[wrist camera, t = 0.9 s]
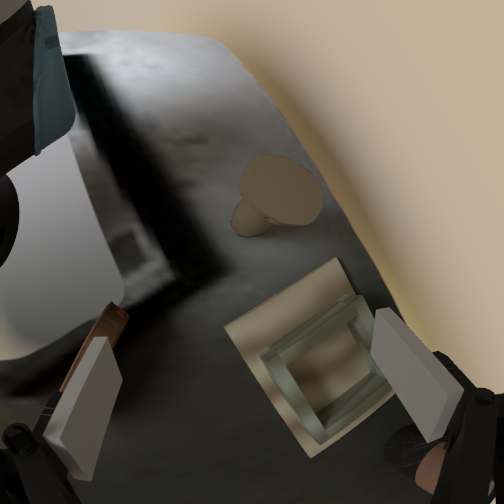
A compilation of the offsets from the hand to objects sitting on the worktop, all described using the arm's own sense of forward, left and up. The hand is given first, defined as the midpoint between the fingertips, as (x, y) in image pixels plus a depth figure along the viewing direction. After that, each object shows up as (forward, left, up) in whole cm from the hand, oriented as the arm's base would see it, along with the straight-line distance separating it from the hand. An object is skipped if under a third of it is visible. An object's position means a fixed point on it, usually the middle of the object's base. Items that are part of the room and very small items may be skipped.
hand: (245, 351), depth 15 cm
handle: (-6, +9, -22) cm, 25 cm away
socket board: (+14, +9, -22) cm, 27 cm away
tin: (-1, -14, -22) cm, 26 cm away
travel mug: (+36, +14, -22) cm, 44 cm away
